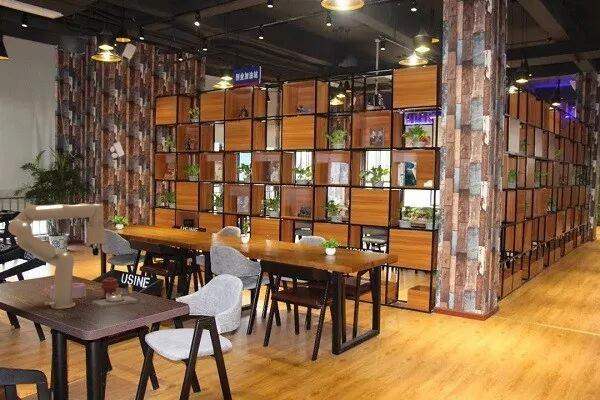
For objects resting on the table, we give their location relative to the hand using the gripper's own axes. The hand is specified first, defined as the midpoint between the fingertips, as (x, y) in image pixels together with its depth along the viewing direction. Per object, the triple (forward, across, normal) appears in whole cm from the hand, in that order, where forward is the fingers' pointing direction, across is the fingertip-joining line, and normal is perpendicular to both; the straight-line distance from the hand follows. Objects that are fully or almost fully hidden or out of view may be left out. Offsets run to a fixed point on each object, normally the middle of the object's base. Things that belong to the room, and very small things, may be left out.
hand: (95, 255), depth 317 cm
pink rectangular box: (+28, -9, +22) cm, 37 cm away
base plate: (+28, +9, -10) cm, 31 cm away
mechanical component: (+28, +10, +4) cm, 30 cm away
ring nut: (+26, +10, -11) cm, 30 cm away
